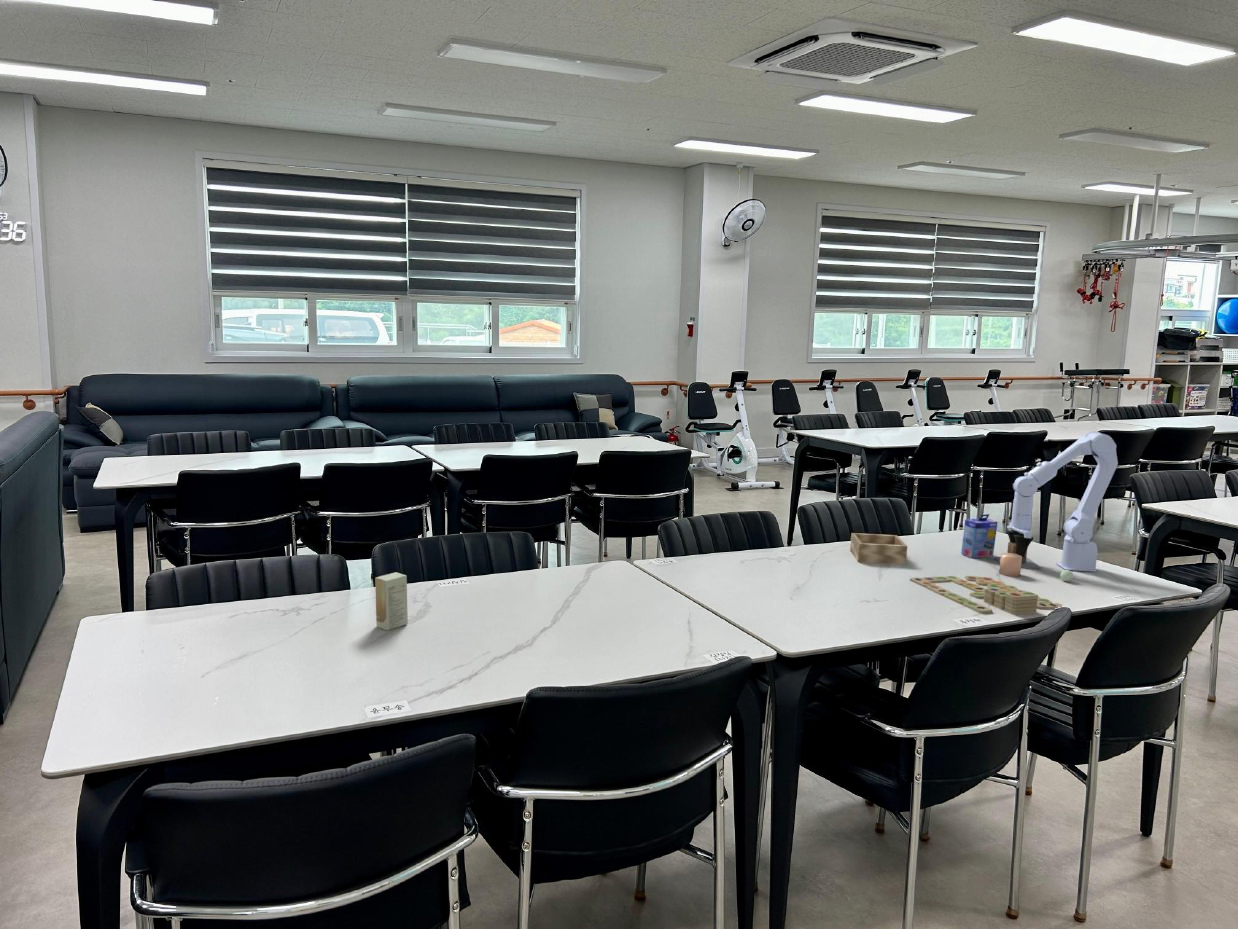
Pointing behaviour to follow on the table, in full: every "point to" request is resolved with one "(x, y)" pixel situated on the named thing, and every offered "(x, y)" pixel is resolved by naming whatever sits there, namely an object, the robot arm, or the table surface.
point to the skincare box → (391, 601)
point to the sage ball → (1066, 575)
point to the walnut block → (1013, 550)
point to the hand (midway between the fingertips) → (1017, 554)
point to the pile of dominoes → (989, 595)
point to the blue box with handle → (979, 537)
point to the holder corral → (878, 548)
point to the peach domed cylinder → (1010, 564)
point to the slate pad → (1024, 565)
